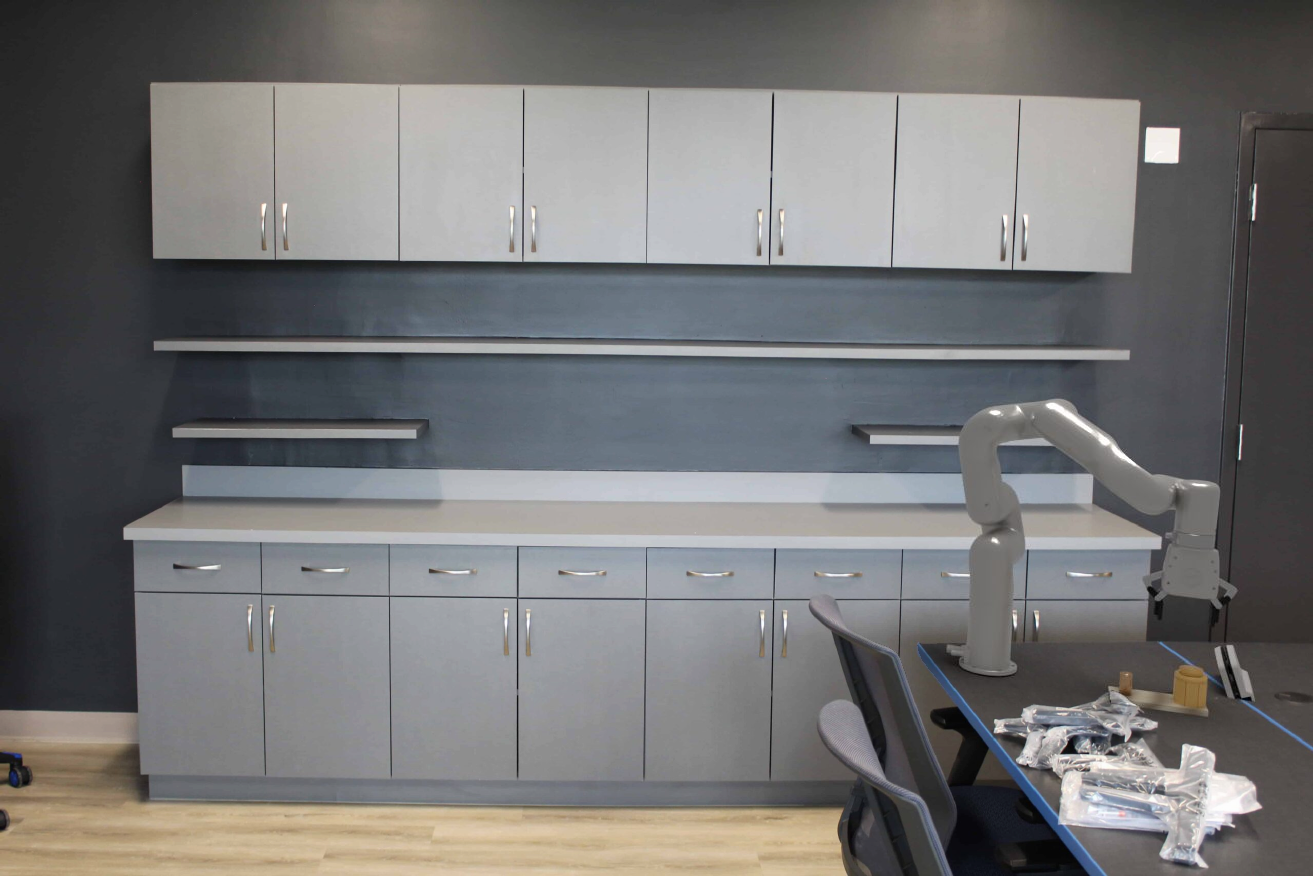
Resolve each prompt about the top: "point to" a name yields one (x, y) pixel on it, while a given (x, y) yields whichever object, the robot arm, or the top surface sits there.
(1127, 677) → the post left
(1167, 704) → the plate
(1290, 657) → the top surface
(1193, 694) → the cap
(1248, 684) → the hinge
